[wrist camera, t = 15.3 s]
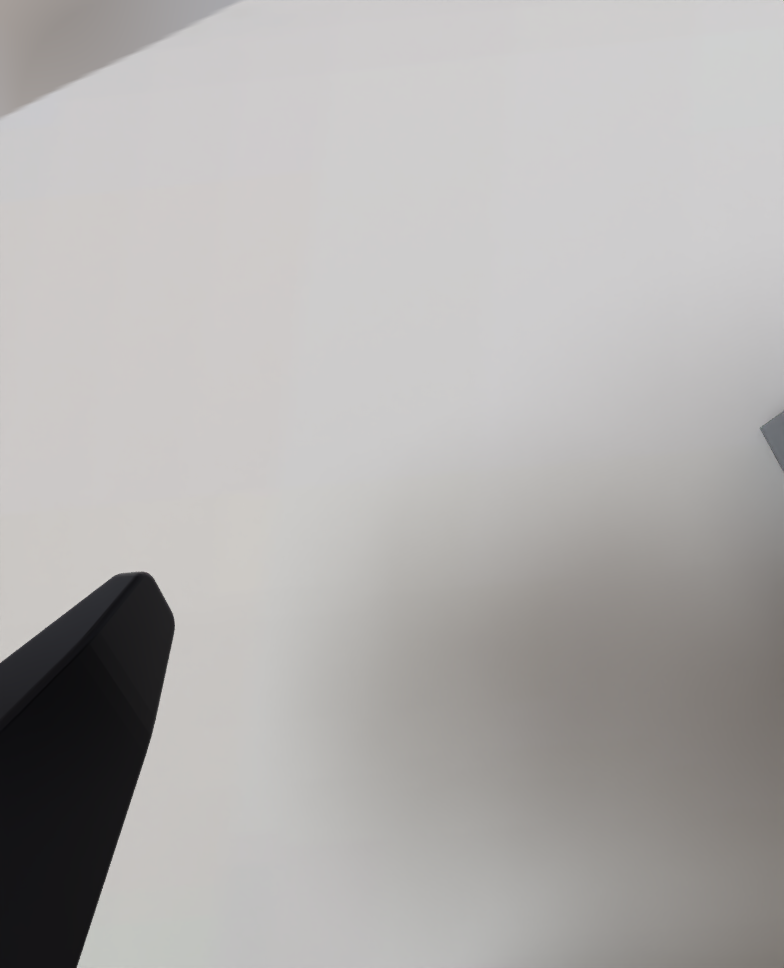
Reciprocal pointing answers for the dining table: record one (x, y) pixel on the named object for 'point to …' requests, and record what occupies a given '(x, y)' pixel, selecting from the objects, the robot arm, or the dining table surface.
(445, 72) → the dining table surface
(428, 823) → the dining table surface
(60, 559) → the dining table surface
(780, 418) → the tray
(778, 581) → the dining table surface
